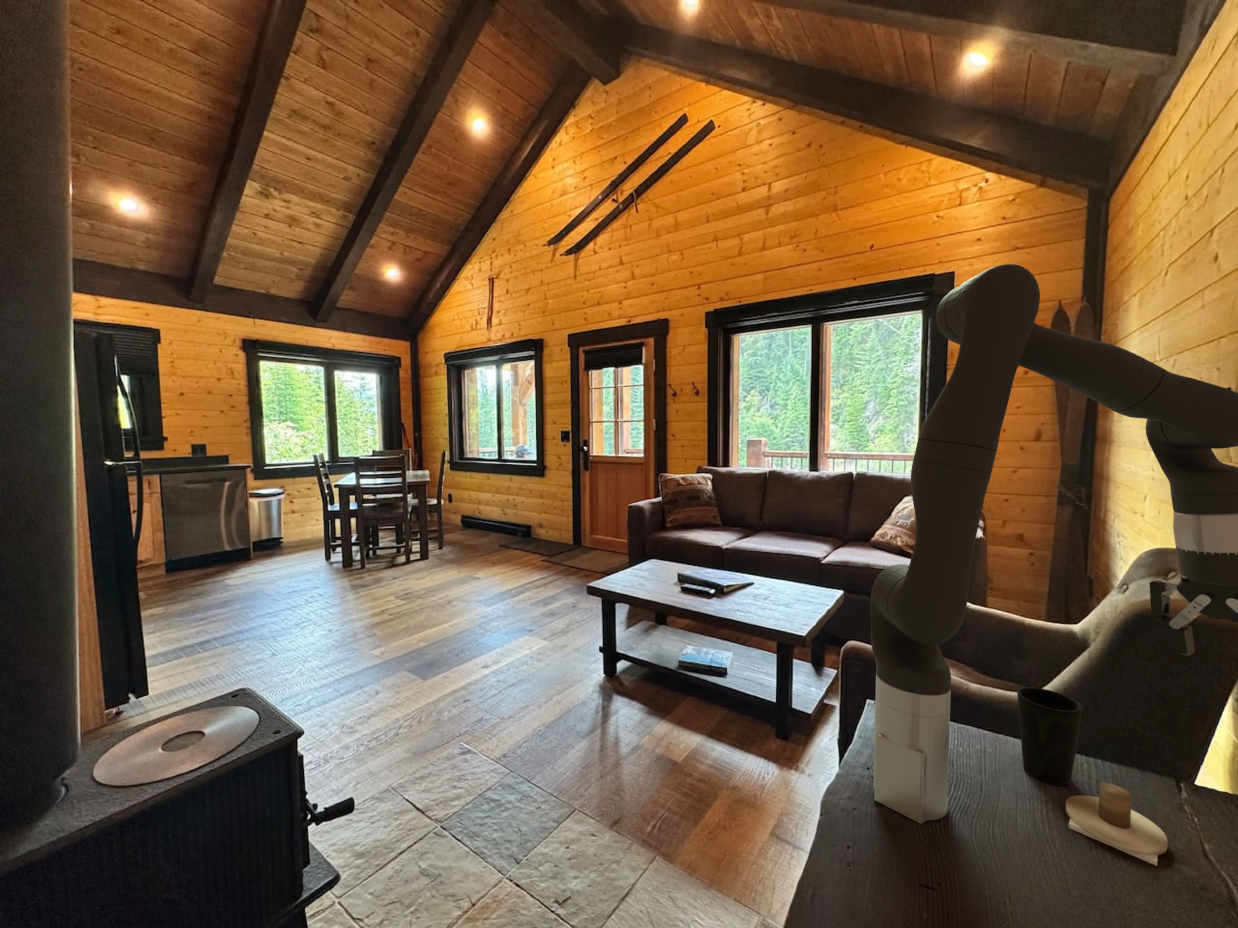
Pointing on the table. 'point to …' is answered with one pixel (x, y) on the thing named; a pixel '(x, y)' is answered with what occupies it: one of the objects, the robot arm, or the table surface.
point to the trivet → (1148, 858)
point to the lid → (1116, 821)
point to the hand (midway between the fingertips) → (1234, 663)
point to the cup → (1048, 734)
